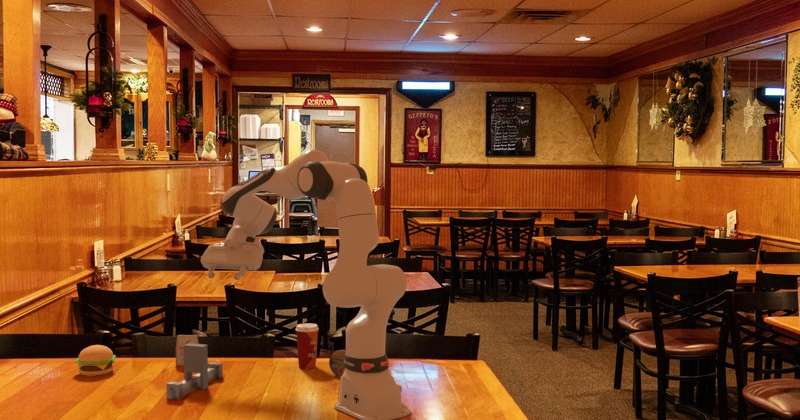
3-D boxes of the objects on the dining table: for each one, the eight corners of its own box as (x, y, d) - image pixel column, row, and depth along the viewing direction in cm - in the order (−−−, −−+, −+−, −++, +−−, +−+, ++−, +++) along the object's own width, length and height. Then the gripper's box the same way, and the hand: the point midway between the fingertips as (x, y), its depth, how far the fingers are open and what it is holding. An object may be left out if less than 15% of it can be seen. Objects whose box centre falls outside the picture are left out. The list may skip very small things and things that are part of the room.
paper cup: (317, 370, 243) (317, 328, 242) (293, 370, 243) (293, 327, 242) (320, 363, 250) (320, 322, 250) (297, 363, 251) (297, 322, 250)
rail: (211, 376, 236) (211, 362, 235) (222, 377, 235) (222, 363, 234) (166, 398, 213) (166, 383, 212) (179, 400, 212) (178, 384, 211)
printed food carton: (179, 363, 251) (179, 333, 250) (199, 363, 251) (198, 334, 250) (175, 366, 247) (175, 336, 247) (195, 366, 247) (195, 336, 246)
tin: (328, 374, 238) (328, 348, 237) (333, 372, 241) (333, 346, 240) (369, 381, 231) (369, 354, 230) (374, 378, 234) (374, 352, 233)
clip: (207, 387, 224) (207, 344, 223) (203, 389, 221) (202, 346, 221) (189, 385, 226) (188, 343, 225) (184, 387, 223) (183, 345, 222)
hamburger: (107, 377, 234) (106, 350, 233) (69, 377, 234) (68, 350, 233) (122, 367, 246) (121, 341, 245) (86, 367, 246) (85, 341, 245)
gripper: (206, 237, 245) (190, 270, 236) (262, 239, 239) (248, 273, 230) (213, 249, 250) (198, 282, 241) (269, 251, 244) (255, 285, 235)
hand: (223, 278), depth 236 cm, fingers open, 8 cm apart
